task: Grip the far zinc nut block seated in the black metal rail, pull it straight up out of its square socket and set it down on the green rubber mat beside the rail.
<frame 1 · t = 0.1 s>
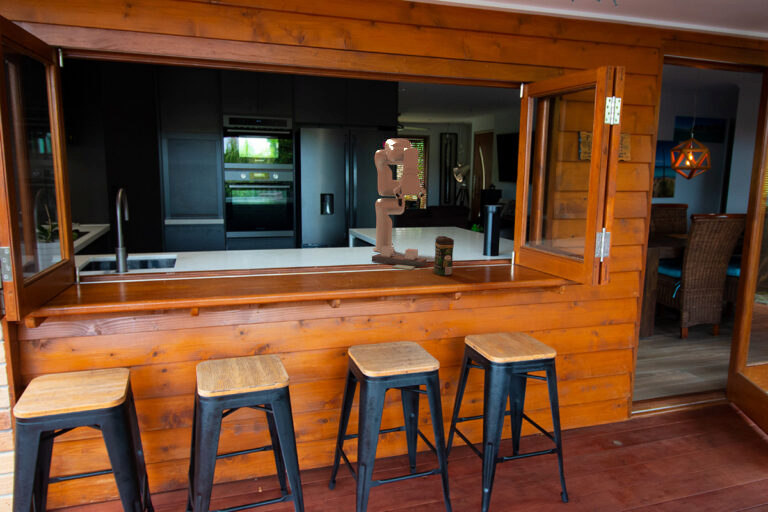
hand: (409, 206, 268), 31 cm above the counter, tool pointing down, fingers open, 9 cm apart
mat: (403, 267, 267), on the counter
nut b: (411, 264, 277), resting in rail
rail: (398, 263, 280), on the counter
nut a: (387, 261, 282), resting in rail
coffee jar: (442, 274, 256), on the counter
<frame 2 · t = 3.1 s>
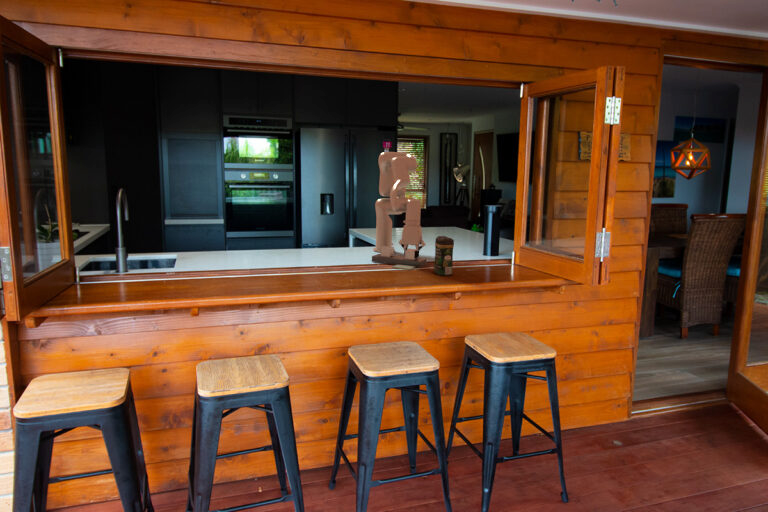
hand: (411, 257, 276), 4 cm above the counter, tool pointing down, fingers closed on nut b, 5 cm apart
nut b: (411, 264, 277), resting in rail, touching gripper
everything else where it was.
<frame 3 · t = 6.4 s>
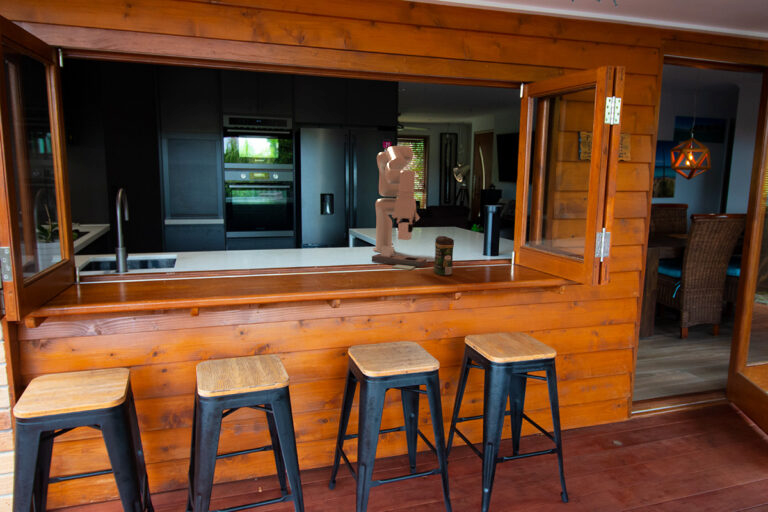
hand: (405, 231, 264), 19 cm above the counter, tool pointing down, fingers closed on nut b, 5 cm apart
nut b: (404, 238, 265), point 15 cm above the counter, touching gripper
everything else where it was.
when the fingers open (6 cm above the counter, at t = 9.5 s): nut b drops 1 cm, resting on mat.
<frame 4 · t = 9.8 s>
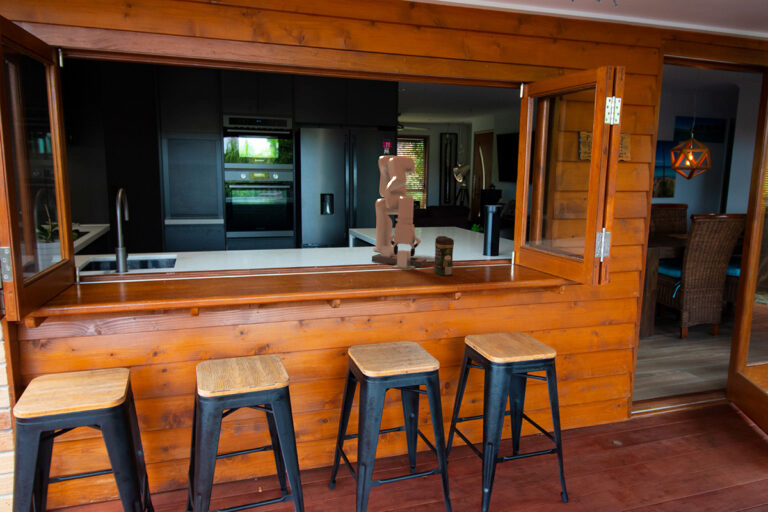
hand: (404, 255, 266), 7 cm above the counter, tool pointing down, fingers open, 8 cm apart
nut b: (403, 266, 267), point 1 cm above the counter, touching mat
everything else where it was.
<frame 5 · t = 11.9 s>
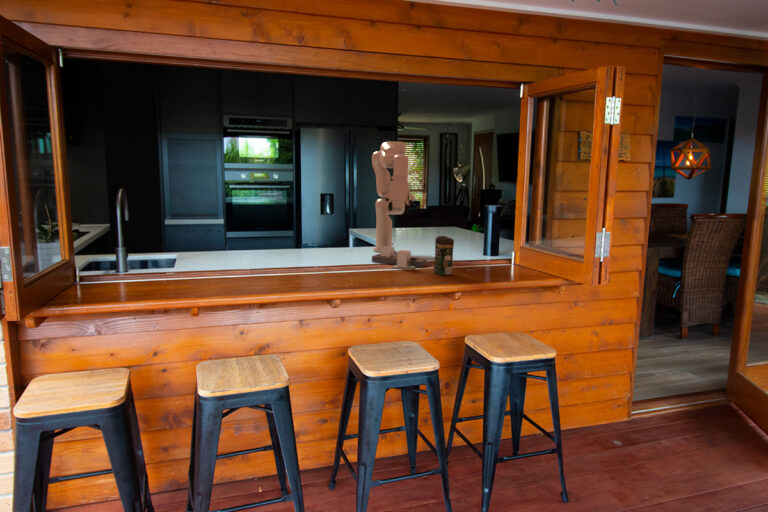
hand: (398, 211, 278), 27 cm above the counter, tool pointing down, fingers open, 9 cm apart
nothing on the counter moved.
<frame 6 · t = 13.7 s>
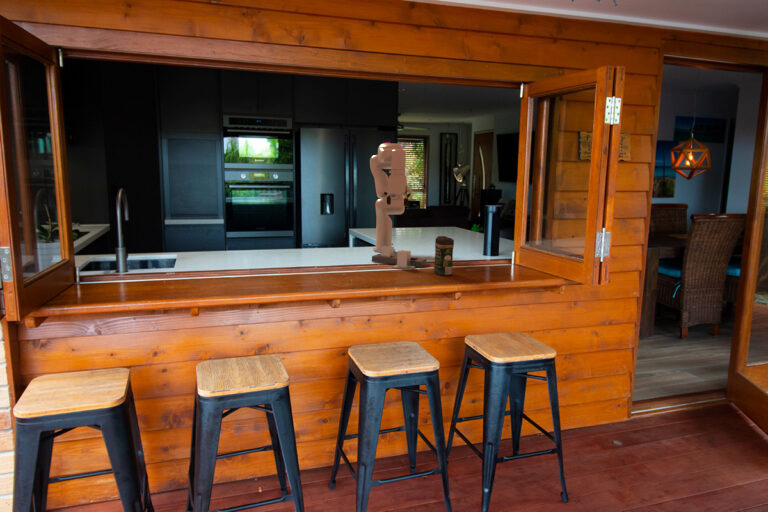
hand: (397, 205, 282), 30 cm above the counter, tool pointing down, fingers open, 9 cm apart
nothing on the counter moved.
at the end: nut b inside the target area on the mat (0.1 cm from its centre), point 0.6 cm above the mat's base; nut b tilted 0°; the gripper is holding nothing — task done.
